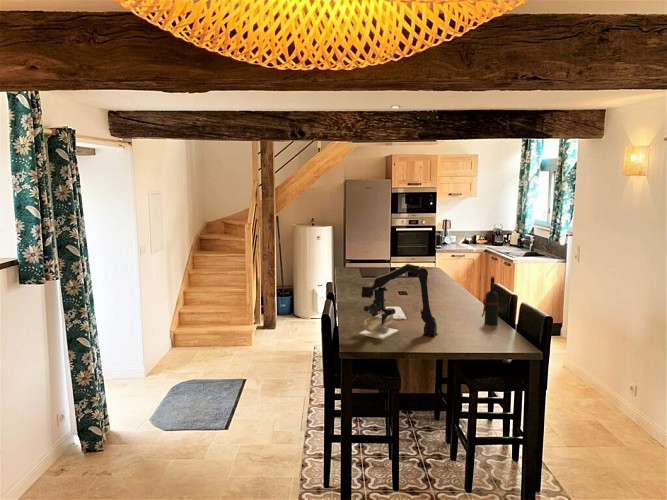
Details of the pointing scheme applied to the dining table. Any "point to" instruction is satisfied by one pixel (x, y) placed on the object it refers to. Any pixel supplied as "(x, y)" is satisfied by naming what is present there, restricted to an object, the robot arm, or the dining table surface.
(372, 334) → the ridge stand
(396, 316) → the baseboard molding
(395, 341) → the dining table surface
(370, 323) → the birch bar
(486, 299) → the wine bottle
